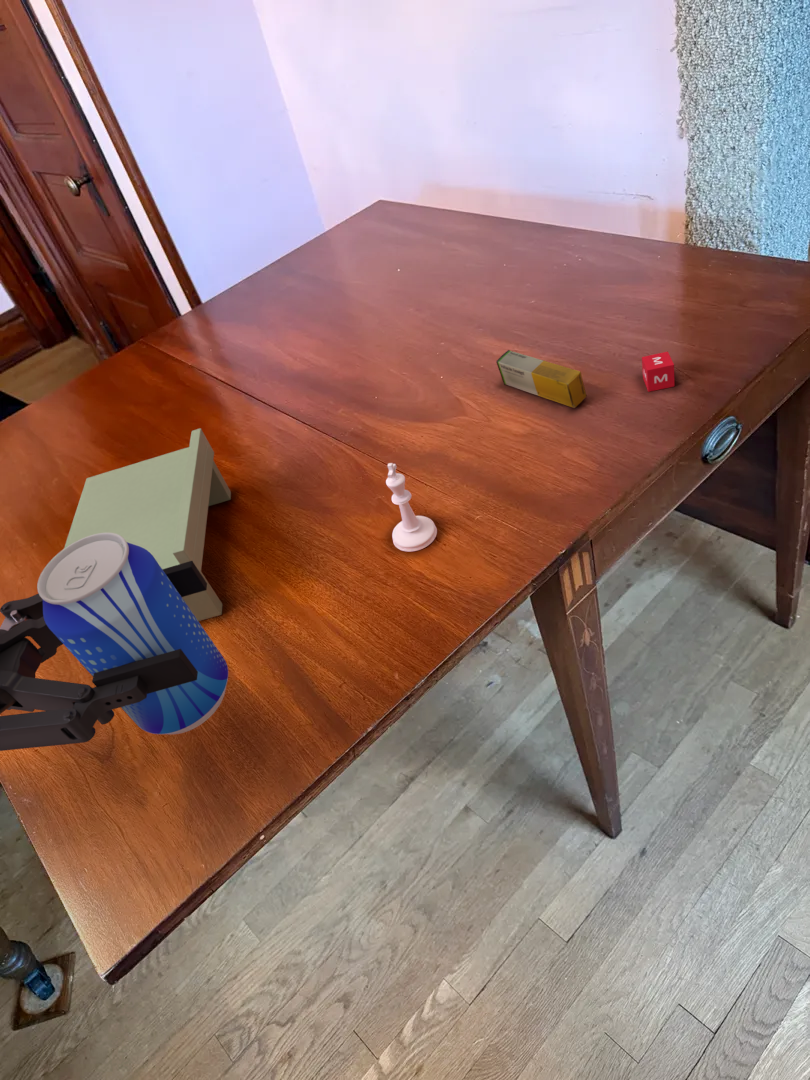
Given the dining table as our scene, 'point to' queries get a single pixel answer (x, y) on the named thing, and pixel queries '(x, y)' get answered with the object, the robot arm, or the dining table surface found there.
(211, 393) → the dining table surface
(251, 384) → the dining table surface
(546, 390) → the medication box
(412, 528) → the chess piece
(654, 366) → the red letter cube
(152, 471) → the shelf
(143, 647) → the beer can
